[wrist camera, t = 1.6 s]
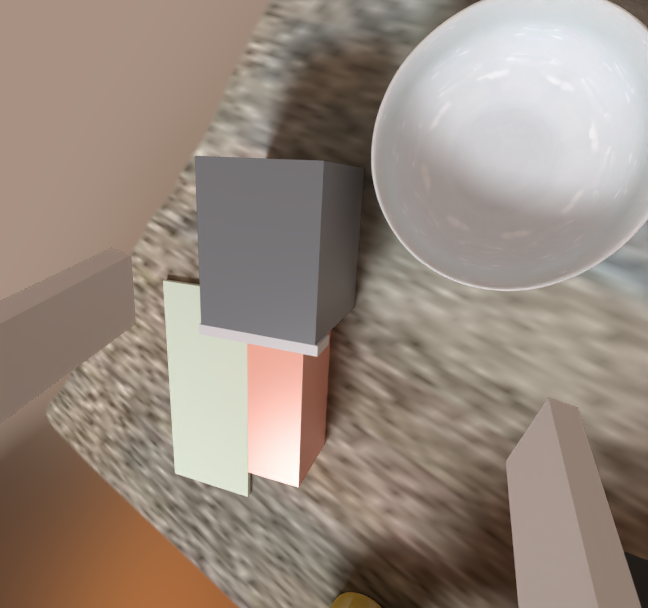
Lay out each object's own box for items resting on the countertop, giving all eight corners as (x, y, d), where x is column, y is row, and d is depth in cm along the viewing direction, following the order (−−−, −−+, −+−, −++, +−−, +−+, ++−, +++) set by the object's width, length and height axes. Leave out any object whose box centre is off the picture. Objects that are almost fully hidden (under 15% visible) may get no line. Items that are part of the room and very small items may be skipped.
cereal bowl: (694, 177, 27) (762, 173, 21) (471, 311, 34) (470, 340, 28) (541, -32, 27) (561, -101, 21) (349, 145, 34) (319, 135, 28)
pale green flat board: (250, 493, 48) (247, 496, 47) (178, 470, 51) (175, 473, 50) (250, 292, 41) (247, 293, 40) (166, 279, 44) (162, 280, 43)
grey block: (355, 316, 38) (317, 356, 29) (261, 301, 41) (199, 334, 31) (367, 168, 34) (326, 160, 25) (262, 163, 37) (192, 156, 28)
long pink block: (325, 443, 43) (298, 487, 36) (281, 431, 44) (248, 472, 38) (335, 249, 37) (306, 262, 31) (284, 244, 38) (246, 255, 32)
